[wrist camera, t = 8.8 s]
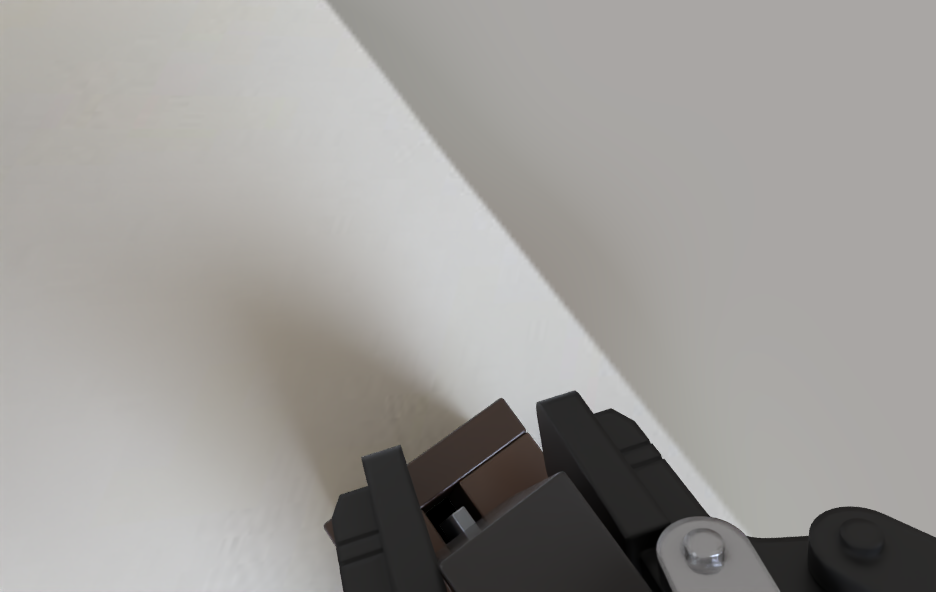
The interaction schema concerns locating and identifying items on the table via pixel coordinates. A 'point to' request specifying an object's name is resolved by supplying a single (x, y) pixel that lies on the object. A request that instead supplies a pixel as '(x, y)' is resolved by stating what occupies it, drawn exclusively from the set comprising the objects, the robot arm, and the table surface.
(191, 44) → the table surface
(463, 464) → the knife block
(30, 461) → the table surface
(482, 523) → the knife
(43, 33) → the table surface
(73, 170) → the table surface
